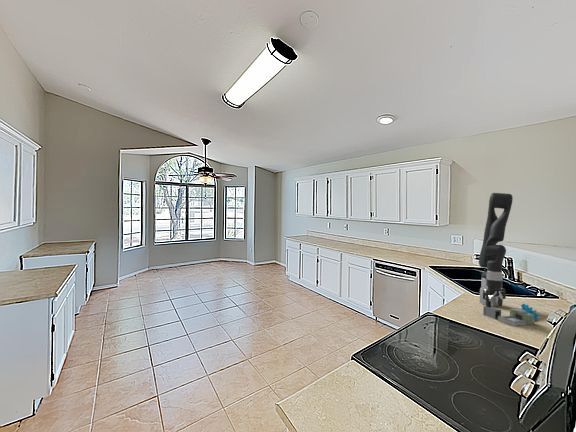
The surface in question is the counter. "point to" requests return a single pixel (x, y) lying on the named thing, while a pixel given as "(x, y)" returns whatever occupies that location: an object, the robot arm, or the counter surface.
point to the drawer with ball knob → (518, 317)
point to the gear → (530, 311)
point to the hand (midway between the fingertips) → (494, 306)
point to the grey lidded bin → (491, 312)
